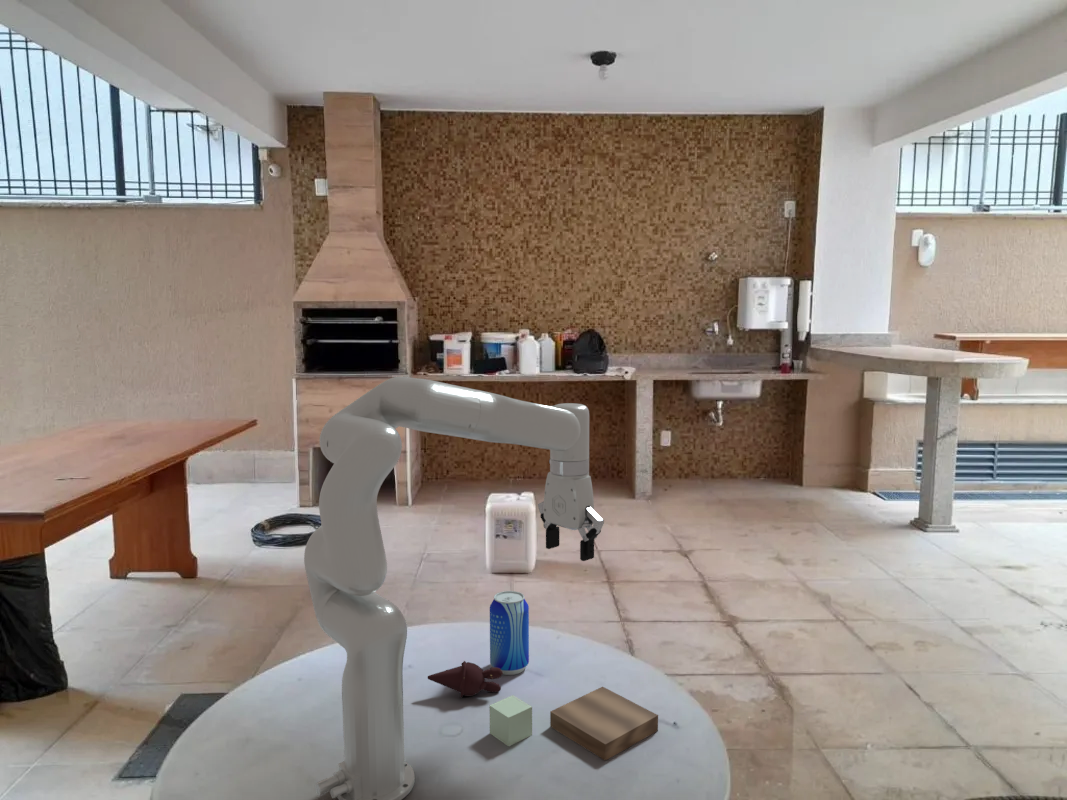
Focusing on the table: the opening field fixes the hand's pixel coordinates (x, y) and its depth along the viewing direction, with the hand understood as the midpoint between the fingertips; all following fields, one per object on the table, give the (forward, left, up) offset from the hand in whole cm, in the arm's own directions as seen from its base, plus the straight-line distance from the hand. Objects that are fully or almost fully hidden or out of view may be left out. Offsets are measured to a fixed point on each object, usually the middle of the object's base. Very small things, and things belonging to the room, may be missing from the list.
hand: (569, 553), depth 144 cm
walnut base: (-3, -13, -30) cm, 32 cm away
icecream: (-15, +14, -30) cm, 36 cm away
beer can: (-1, +17, -30) cm, 34 cm away
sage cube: (-17, -3, -30) cm, 34 cm away
